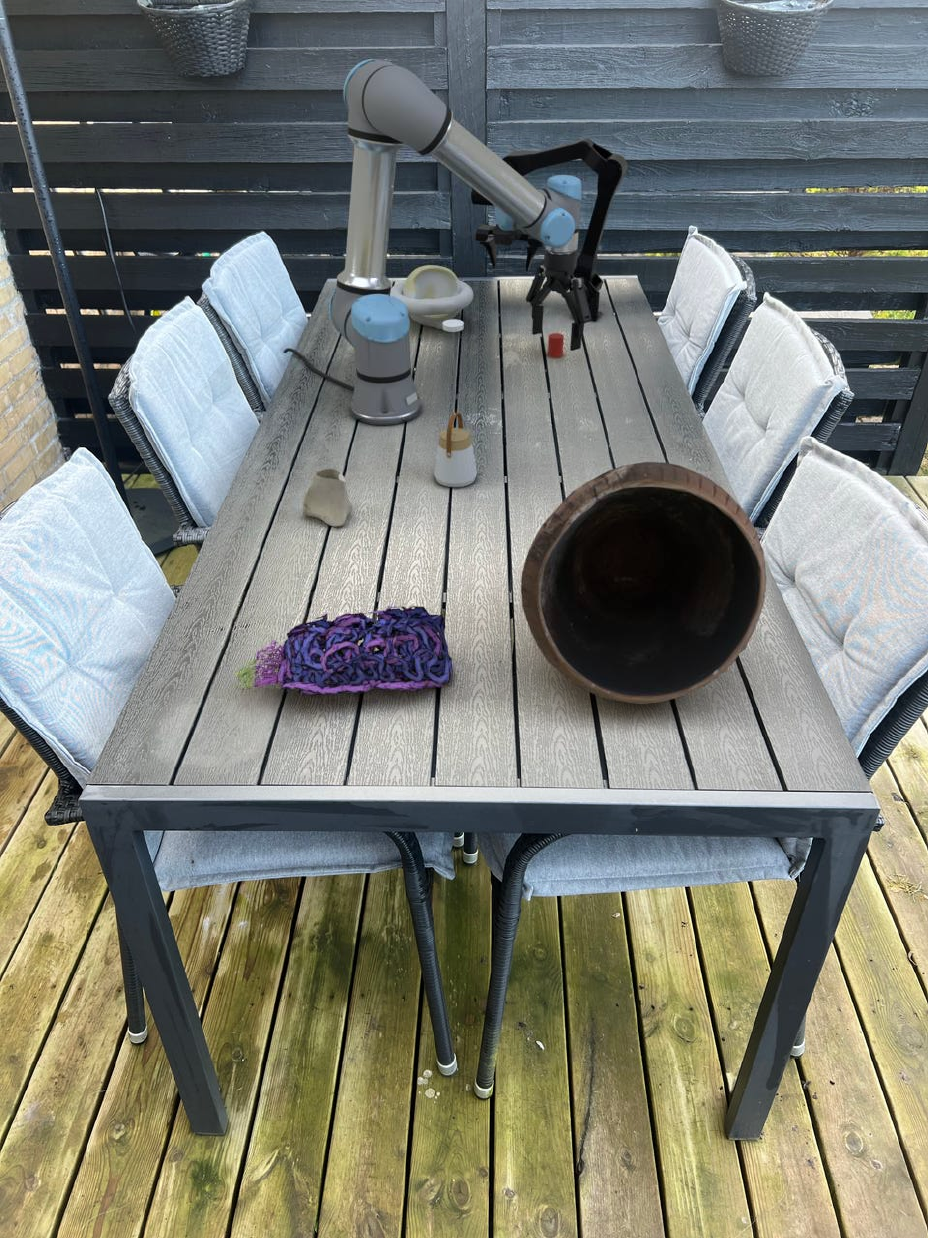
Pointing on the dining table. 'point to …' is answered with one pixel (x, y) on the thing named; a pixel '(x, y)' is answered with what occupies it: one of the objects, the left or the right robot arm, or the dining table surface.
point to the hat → (433, 295)
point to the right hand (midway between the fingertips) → (510, 269)
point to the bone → (327, 498)
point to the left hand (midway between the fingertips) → (555, 341)
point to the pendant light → (455, 442)
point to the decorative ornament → (358, 654)
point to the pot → (644, 583)
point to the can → (555, 345)
